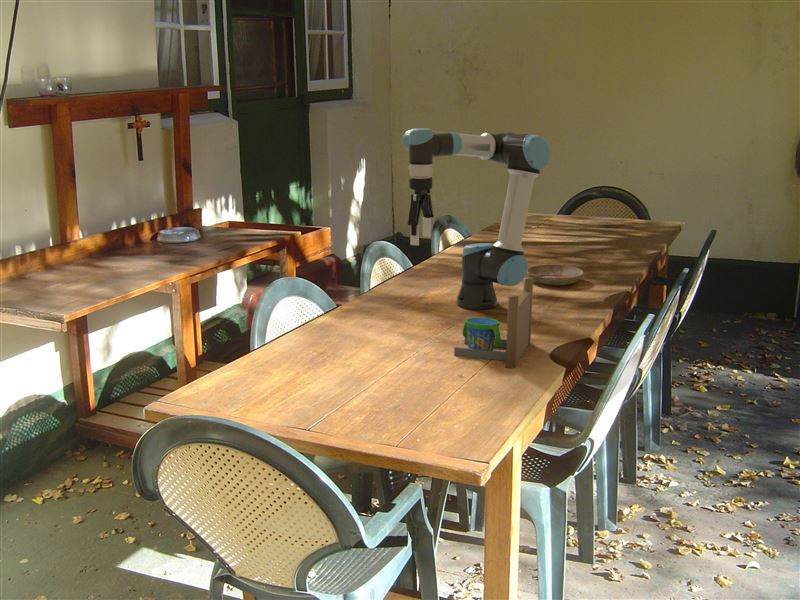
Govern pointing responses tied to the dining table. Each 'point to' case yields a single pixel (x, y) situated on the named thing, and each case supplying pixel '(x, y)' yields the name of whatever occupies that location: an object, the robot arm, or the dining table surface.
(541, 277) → the ceramic bowl
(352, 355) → the dining table surface
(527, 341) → the headboard cradle
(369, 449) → the dining table surface
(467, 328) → the snack cup
